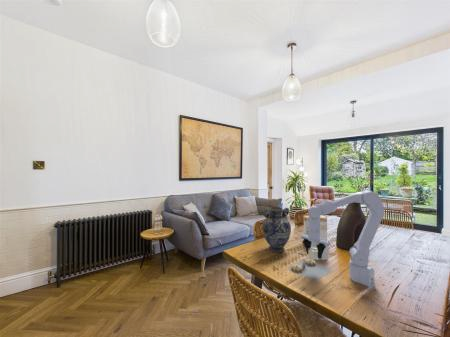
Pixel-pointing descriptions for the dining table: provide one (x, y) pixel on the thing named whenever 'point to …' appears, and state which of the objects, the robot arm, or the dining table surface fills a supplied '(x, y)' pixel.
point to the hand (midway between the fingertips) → (314, 256)
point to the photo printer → (325, 252)
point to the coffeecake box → (322, 226)
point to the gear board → (310, 269)
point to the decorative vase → (276, 228)
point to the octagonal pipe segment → (313, 253)
